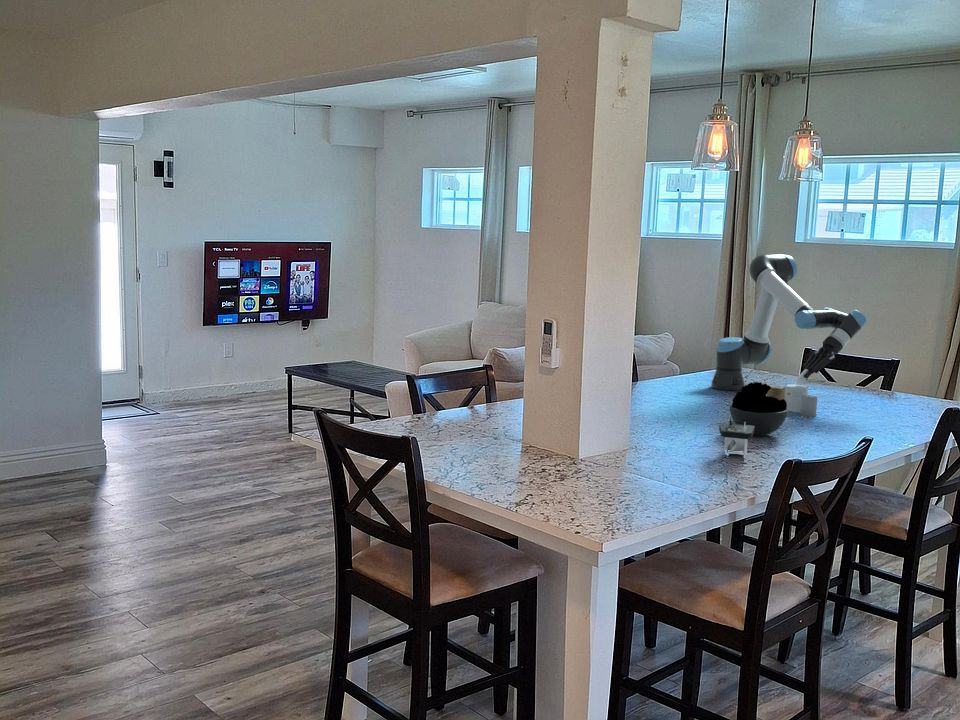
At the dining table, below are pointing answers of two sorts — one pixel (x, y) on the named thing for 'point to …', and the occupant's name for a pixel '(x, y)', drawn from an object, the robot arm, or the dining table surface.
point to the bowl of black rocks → (758, 408)
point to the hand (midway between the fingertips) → (797, 382)
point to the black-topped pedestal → (736, 435)
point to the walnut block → (777, 392)
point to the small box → (794, 396)
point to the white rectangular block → (808, 406)
